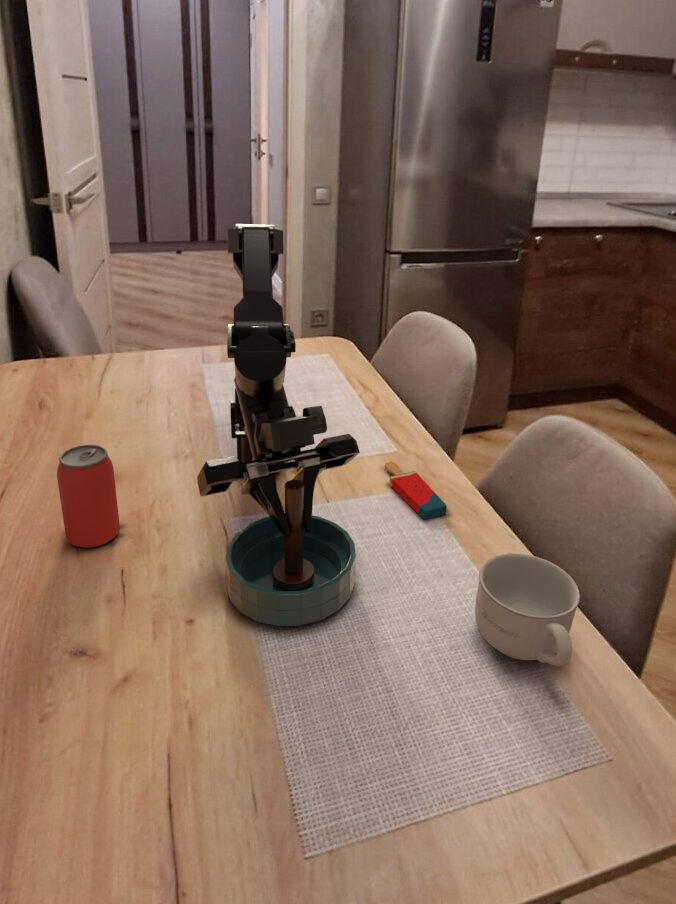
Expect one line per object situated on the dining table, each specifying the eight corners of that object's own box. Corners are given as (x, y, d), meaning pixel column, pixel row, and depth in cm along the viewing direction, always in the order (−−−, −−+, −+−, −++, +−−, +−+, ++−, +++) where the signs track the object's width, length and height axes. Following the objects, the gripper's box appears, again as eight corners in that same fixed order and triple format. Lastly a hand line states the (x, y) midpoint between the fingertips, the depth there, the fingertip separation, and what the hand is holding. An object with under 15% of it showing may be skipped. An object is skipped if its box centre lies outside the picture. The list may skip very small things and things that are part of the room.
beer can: (131, 527, 90) (123, 448, 85) (96, 555, 84) (86, 473, 79) (91, 515, 92) (81, 438, 87) (54, 542, 86) (41, 461, 81)
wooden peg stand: (266, 586, 79) (265, 492, 74) (280, 559, 83) (281, 470, 78) (307, 594, 78) (308, 500, 73) (319, 567, 83) (321, 476, 78)
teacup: (463, 604, 80) (470, 549, 77) (551, 603, 81) (561, 549, 78) (489, 703, 67) (499, 641, 64) (594, 700, 68) (608, 639, 65)
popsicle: (400, 456, 109) (449, 505, 96) (400, 464, 109) (448, 513, 97) (376, 461, 107) (422, 512, 94) (375, 469, 107) (421, 520, 95)
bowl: (205, 615, 76) (203, 579, 74) (256, 536, 89) (255, 505, 87) (334, 642, 73) (335, 606, 71) (366, 556, 87) (368, 524, 85)
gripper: (198, 397, 71) (231, 542, 66) (356, 373, 79) (395, 500, 74) (185, 430, 80) (213, 560, 75) (327, 406, 88) (361, 521, 84)
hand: (298, 534), depth 77 cm, fingers closed on wooden peg stand, 2 cm apart
